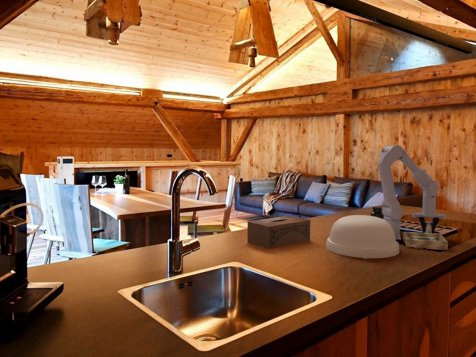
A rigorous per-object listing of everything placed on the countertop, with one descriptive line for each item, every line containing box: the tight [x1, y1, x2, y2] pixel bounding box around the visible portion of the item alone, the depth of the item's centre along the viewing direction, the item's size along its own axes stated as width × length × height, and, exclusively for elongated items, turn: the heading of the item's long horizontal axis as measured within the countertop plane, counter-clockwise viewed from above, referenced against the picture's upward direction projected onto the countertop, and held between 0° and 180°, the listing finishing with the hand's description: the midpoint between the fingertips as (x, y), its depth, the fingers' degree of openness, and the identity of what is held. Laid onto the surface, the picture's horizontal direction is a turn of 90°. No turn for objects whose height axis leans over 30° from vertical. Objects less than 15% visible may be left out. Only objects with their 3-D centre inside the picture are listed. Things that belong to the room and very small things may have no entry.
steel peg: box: [424, 221, 433, 234], centre depth 197 cm, size 4×4×7 cm
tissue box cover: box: [246, 215, 311, 250], centre depth 187 cm, size 26×14×10 cm, turn 127°
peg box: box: [402, 231, 449, 251], centre depth 182 cm, size 16×16×4 cm
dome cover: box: [325, 214, 400, 260], centre depth 174 cm, size 32×30×14 cm
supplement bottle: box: [369, 205, 384, 219], centre depth 214 cm, size 7×7×12 cm
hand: (428, 232), depth 197 cm, fingers closed on steel peg, 4 cm apart
